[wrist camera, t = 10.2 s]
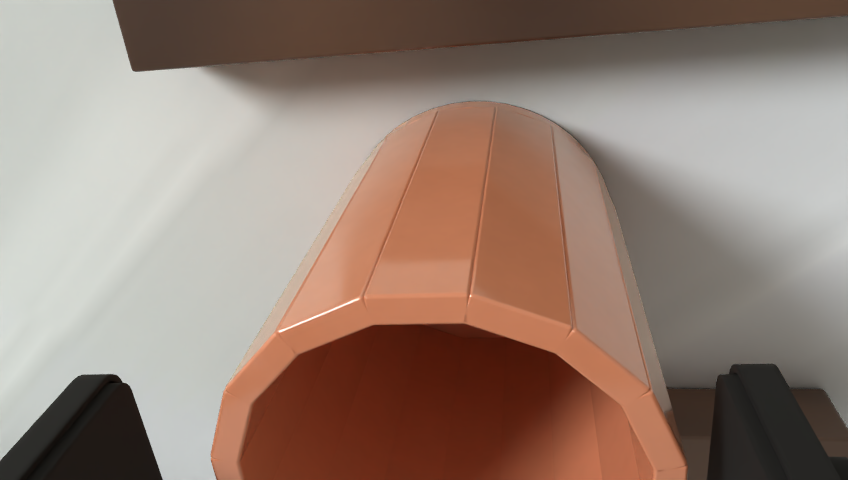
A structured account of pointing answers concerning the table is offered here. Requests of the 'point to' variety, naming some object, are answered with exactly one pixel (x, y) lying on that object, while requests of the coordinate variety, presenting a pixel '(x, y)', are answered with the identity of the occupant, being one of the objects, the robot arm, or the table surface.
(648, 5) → the guide rails
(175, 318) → the table surface
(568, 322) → the peach cup
